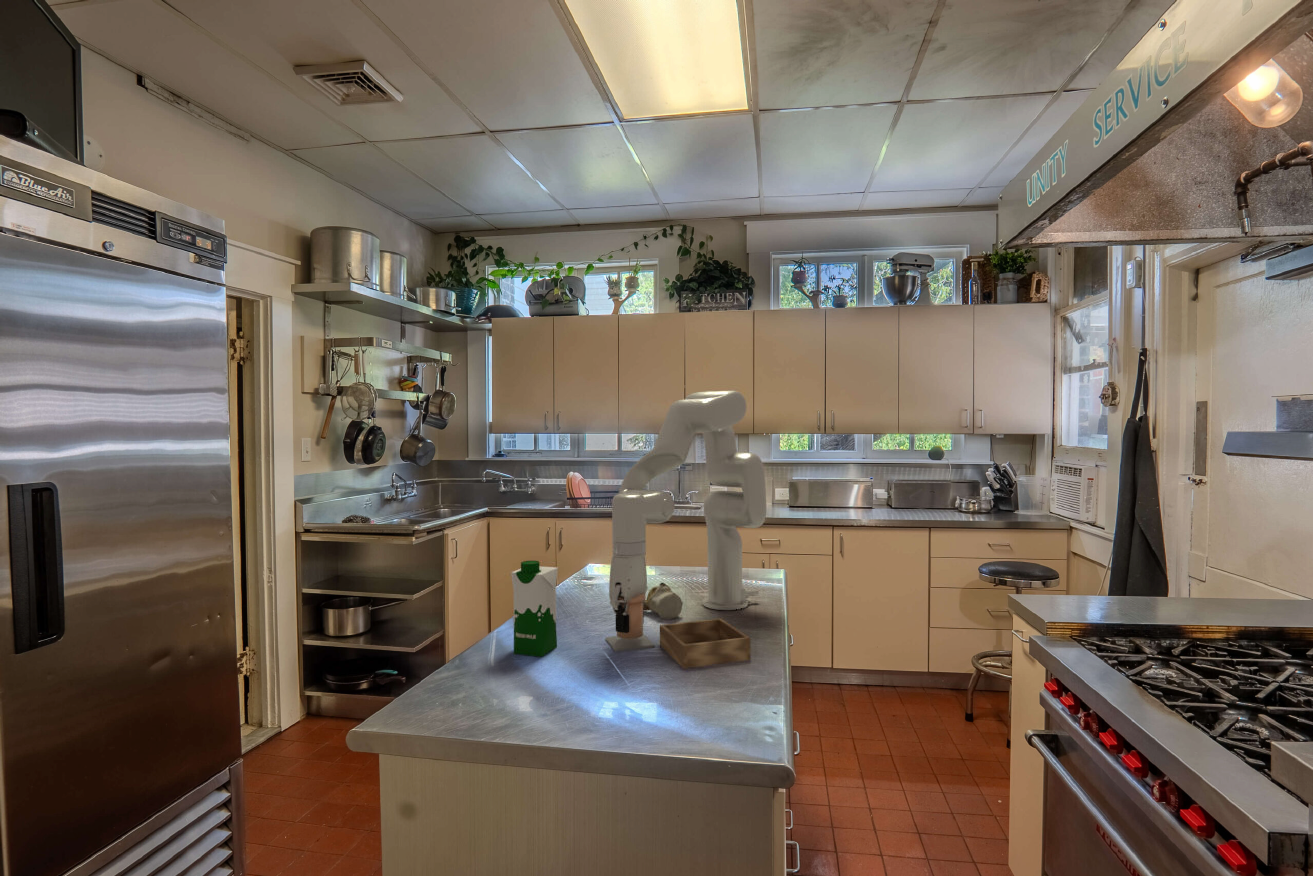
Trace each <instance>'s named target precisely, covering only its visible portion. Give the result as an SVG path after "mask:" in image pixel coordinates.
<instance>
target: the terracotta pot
mask: <svg viewBox="0 0 1313 876" xmlns="http://www.w3.org/2000/svg"><path fill="white" fill-rule="evenodd" d="M646 598H647V596H646V594H645V593H643V594H641V595H639V596H637V597H635V598H632V599H631V601H629V602H628V604H629V607H628V613H627V615H629V633H622V632H617V631H616V636H618V637H620V638H623V639H635V638H639V637H642V636H643V634H644V623H643V601H645V600H646ZM619 600H624V598H621V597H620V598H619ZM620 605H622V607H623V608H624V603H620Z"/></svg>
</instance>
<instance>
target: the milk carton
mask: <svg viewBox="0 0 1313 876" xmlns="http://www.w3.org/2000/svg"><path fill="white" fill-rule="evenodd" d="M558 571H559V567H555V566H554V567H553V566H541V565H540V561H539V560H524V561H521V562H520V568H518V569H517V570H516V569H515V570H514V571H511V572H510V576H511V583H512V589H513V591H512V593H513V599H512V600H513V654H514V655H515V654H516V655H521V656H522V655H523V656H531V657H539V658H540V657H541V658H542V657H543V656H545V655H547V654H549V653H550V652H551V651H553V650H554V649H556V648H557V647H558V640H557V639H558V638H557V578H558Z"/></svg>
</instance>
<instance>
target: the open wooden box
mask: <svg viewBox="0 0 1313 876" xmlns="http://www.w3.org/2000/svg"><path fill="white" fill-rule="evenodd" d="M659 646H660V647H661V648H662V649H663V650H664V651H665V652H666V653H667V654H668V655H669V656H670V657H671V658H672V659H673V660H674V661H676V662H677V663H678V665H679V666H681V668H682V669H691V668H698V667H705V666H714V665H718V664H719V665H720V664H727V663H728V664H729V663H736V662H744V661H751V658H752V657H751V656H752V655H751V637H750V636H748V635H747V634H745V633H743V632H742V631H741V630H739V629H737V628H736V627H734V626H733V625H731V624H730V623H728V622H727V621H725V620H724V619H722V618H714V619H704V620H694V621H686V622H678V623H677V622H676V623H668V624H667V623H666V624H660V625H659Z"/></svg>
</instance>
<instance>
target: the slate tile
mask: <svg viewBox="0 0 1313 876" xmlns="http://www.w3.org/2000/svg"><path fill="white" fill-rule="evenodd" d="M605 642H607V643H608V644H609V646H610V647H611V648H612V650H613V651H614V652H615V653H620V652H627V651H629V652H630V651H636V650H637V651H638V650H644V649H645V650H646V649H652V648H656V645H655V643H653V642H652V640H650V639H649V638H648V637H647V636H646V635H645V634H644V633H643V636H642V637H639V638H635V639H623V638H620V637H618V636H617V635H614V636H606V637H605Z"/></svg>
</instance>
